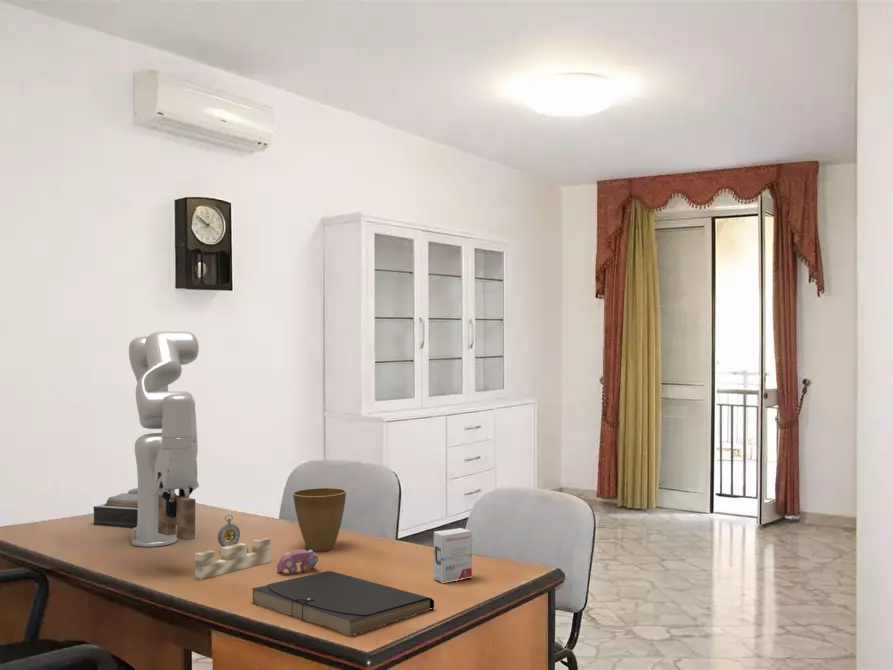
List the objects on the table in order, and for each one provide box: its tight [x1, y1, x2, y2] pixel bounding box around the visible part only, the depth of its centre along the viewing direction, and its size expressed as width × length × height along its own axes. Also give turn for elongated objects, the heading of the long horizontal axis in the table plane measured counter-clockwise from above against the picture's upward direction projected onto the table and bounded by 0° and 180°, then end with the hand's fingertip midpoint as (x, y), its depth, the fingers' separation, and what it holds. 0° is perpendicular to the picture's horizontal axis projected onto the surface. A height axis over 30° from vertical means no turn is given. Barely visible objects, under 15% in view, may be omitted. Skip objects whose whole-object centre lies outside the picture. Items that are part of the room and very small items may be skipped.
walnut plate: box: [158, 494, 196, 542], centre depth 215 cm, size 12×2×10 cm, turn 53°
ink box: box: [432, 527, 473, 582], centre depth 207 cm, size 9×5×12 cm, turn 123°
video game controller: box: [276, 549, 319, 574], centre depth 214 cm, size 10×5×7 cm, turn 118°
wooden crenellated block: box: [194, 537, 272, 580], centre depth 216 cm, size 22×2×6 cm, turn 143°
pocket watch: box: [217, 514, 249, 552], centre depth 235 cm, size 8×8×10 cm
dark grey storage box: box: [92, 487, 177, 529], centre depth 280 cm, size 23×27×10 cm
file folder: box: [251, 570, 435, 637], centre depth 185 cm, size 33×4×24 cm
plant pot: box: [292, 487, 347, 552], centre depth 240 cm, size 15×15×16 cm
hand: (176, 515), depth 215 cm, fingers closed on walnut plate, 2 cm apart
